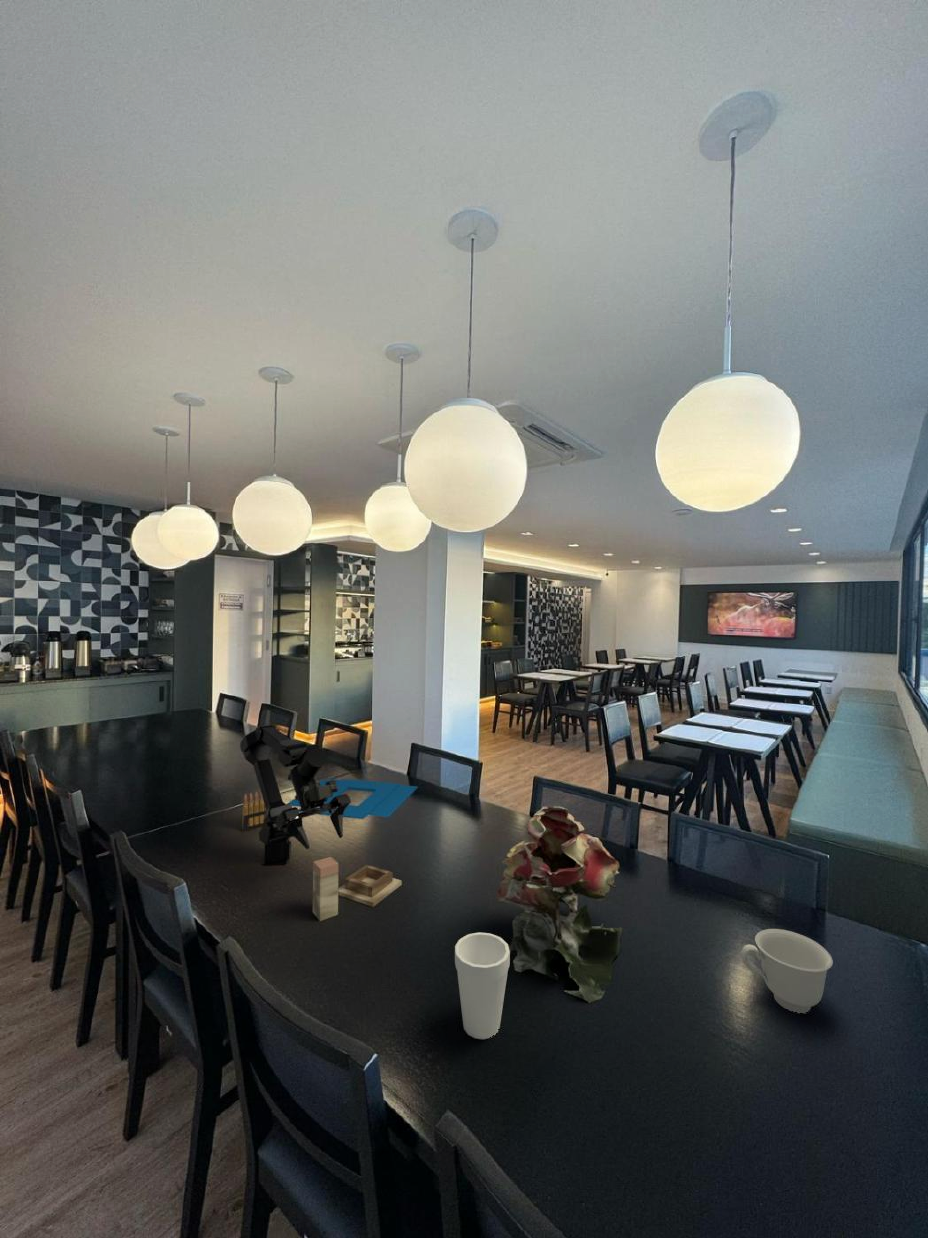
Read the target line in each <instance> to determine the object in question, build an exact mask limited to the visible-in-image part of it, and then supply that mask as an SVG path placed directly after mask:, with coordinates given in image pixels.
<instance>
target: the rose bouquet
mask: <svg viewBox="0 0 928 1238" xmlns="http://www.w3.org/2000/svg"><path fill="white" fill-rule="evenodd" d="M526 830H527V832H526V833H527V834H528V835H529V836H531V838H527V839H524V840H523V841H520V842H519V843H518V844H516V845H514V846H513V847H511V848H510V849H509V852H508V853H507V854H506V857H508V858H504V859H503V860H502V861H501V863H502V864H503V865H506V866H507V867H506V868H505V869H504V870H503V873H502V876H503V877H502V881H501V880H500V881H499V884H500V886H501V889H497V892H496V893H497V896H496V897H497V899H498V901H500V902H502V903H503V902H504V903H507V904H510V905H515V906H518V907H519V908H522V909H524V911H523V912H521V913H520V914H522V915H523V916H522V917H520V918H522V919H521V920H520V921H518V922H517V921H516V920H515V921H516V922H515V921H514V920H513V919H512V923H511V924H512V935H513V937H512V940H511V942H510V945H509V944H508V947H509V951H510V952H513V951H514V950H515V951H516V952H517V953H516V955H517V956H515V957H514V959H513V960H512V963H513V966H514V971H516V972H518V973H522V972H524V971H527V970H533V971H535V972H536V973H539V974H542V975H545V976H547V977H549V978H551V979H553V980H556V981H559V980H560V978H559V977H560V976H559V975H558V974H557V973H555V972H554V971H553V970H551V969H550V968H551V965H552V964H553V962H555V961H556V960H559V956H560V954H561V955H562V957H564V959H565V961H566V963H569V965H568V973H569V978H571V979H572V980H574V982H575V983H576V984H577V986H578V987H579V989H578V990H564V992H566V993H567V994H570V995H572V996H574V997H577V998H579V999H582V1000H584V1001H586V1002H587V1003H588V1004H592V1003H593V1002H596V1001H598V1000H601V999H602V998H603V996H604V995H605V993H606V989H604V990H602V988H601V987H600V985H607V986H606V988H608V987H609V985H610V983H611V981H612V971H613V968H614V966H613V961H614V960H615V958H617V956H619V952H620V945H621V944H620V943H621V941H620V940H621V936H622V934H623V928H622V927H602V926H603V925H604V923H602V924H601V926H599V925H598V926H597V925H596V926H594V925H592V924H591V920H592V919H591V916H590V915H589V912H588V904H585V906H582V907H581V908H580V909H579V910H578V905H579V904H578V898H579V897H578V895H581V896H584V897H587V898H588V899H591V900H594V901H598V902H601V903H602V900H604V901H608V899H606V898H608V896H607V895H605V894H608V893H609V892H610V890H611V888H614V889H617V887H616V885H613V884H614V883H615V882H616V881H615V877H616V875H617V874H620V872H619V871H618V870H619V869H620V863H619V861H618V860H616V858H614V856H612V855H611V854H610V852H609V851H608V850H607V849H606V848H605V846H603V843H602V841H601V840H600V838H599V837H594V836H592V835H590V834H587V833H583V832H584V831H585V828H584V826H583V825H582V824H581V822H580V821H576V820H575V818H574V816H573V815H572V814H570V811H569V809H567V808H565V807H562V806H553V807H550V806H542V807H541V808H540V809H539V810H536V813H534V815H533V817H531V818H530V819H529V820H528V822H527V828H526ZM609 899H614V897H609ZM560 903H563V904H565V905H566V906H567V907H568V911H569V912H568V914H567V916H564V915H561V906H560ZM515 918H517V916H516V917H515ZM563 918H564V919H563ZM513 925H517V926H513ZM518 925H520V926H518ZM599 987H600V988H599ZM591 1002H592V1003H591Z"/></svg>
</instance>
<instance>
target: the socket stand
mask: <svg viewBox="0 0 928 1238" xmlns="http://www.w3.org/2000/svg"><path fill="white" fill-rule="evenodd" d="M393 876H394V875H393V872H392V871H390V870H386V869H382V868H379V867H376V866H372V865H368V864H366V865H363V866H362V867H361V868H359V869H358V870H356V871H354V873H352V874H349V876H347V877H346V878H344V881H345V882H344V883H343V884H342V885H341V886H338V897H339V896H340V897H343V898H346V899H347V900H348V899H349V900H351V901H355V902H357V903H360V904H364V905H367V906H369V907H373V908H374V907H375V906H376V905H378V904H379V903H380V902H381V901H383V900H384V899H385V898H387V897H388V896H389V895H390V894H391V893H393V892H394V891H396V890H397V889H398V888H399V887H401V886H402V883H403V882H402V880H401V879H398V878H395V877H393Z"/></svg>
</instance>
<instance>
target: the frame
mask: <svg viewBox="0 0 928 1238" xmlns="http://www.w3.org/2000/svg"><path fill="white" fill-rule="evenodd" d="M331 780H335V782H336V784H337V788H338V791H337V792H334V793H332V794H333V797H327V798H328V800H327V801H326V802H324V804H326V803H330V801H331V800H332V799H333V798H334V797H335V796H339V795H343V794H345V792H347V791H348V790H353V791H363V792H372V793H371V794H370V795H369V796H367V797H366V798H365V799H363V801H362V802H360V804H358V805H352V804H349V805H348V807H347V808H346V809H345V810H344V813H343V818H351V819H358V820H360V819H361V820H364V819H365V818H366V817H367V816H375V817H385V818H390V816H392V815H393V814H394V813H395V811H397V809H399V807H400V806H401V805H402V804H403V803H405V801H406V800H408V798H410V796H412V795H413V793H414V792H415V791H416V790H417V789H418V787H419V786H414V785H405V784H403V785H402V784H400V783H393V782H383V781H382V782H381V781H372V780H370V781H369V780H359V779H348V778H341V779H338V778H337V779H335V778H324V779H322V780H321V781H320V782H318V783H320V784H321V786H325V785H326V782H327V781H331ZM286 804H291V806H292V807H297V808H298V807H299V808H298V810H299V811H300V810H301V807H300V804H299V801H298V800H295V798H294V799H292V800H290V801H289V802H287V803H286ZM317 815H319V816H320V815H322V816H329V817H330V816H331V815H332V814H331V813H329V811H326V812H322V813H318V814H317Z"/></svg>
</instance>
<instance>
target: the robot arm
mask: <svg viewBox="0 0 928 1238" xmlns="http://www.w3.org/2000/svg"><path fill="white" fill-rule="evenodd" d="M239 745H240V746H239V748H240V751H241V752H242V754H243V757H244V759H245V760H246V762H249V764H251V765H252V766H253V769H254V772H255V775H256V780H257V782H258V786H259V790H260V792H261V793H262V797H263V800H264V804H265V807H266V813H265V816H264V819H263V823H264V825H263V827H260V828H261V829H260V830H259V831H258V837H259V841H260V842H261V843H263V844H264V854H263V855H264V859H263V861H262V866H271V865H272V866H273V865H275V866H277V865H279V866H280V865H286V864H288V861H289V860H290V858H291V856H292V841H291V840H290V838H293V837H294V838H295V839H296V840H297V841H298V842H299V844H301V845H302V846H303V847H304V848H305V849H306V850H308V849H310V843H309V839H308V836H307V834H306V832H305V829H304V826H303V819H304V818H307V817H311V816H315V815H319V814H318V813H322V812H326V811H329V813H331V814H332V815H331V816H330V815H329V818H330V820H331V823H332V825H333V827H334V828H333V829H334V830H335V832H336V834H337V836H338V838H339V839H342V838H343V836H344V829H343V827H344V825H343V824H344V823H343V821H344V820H343V818H344V817H343V813H344V810H345V809H346V808H347V807H348V805H351V803H352V799H351V798H350V796H349V795H348V794H346V793H342V794H341V795H339V796H335V797H334V798H333V799H332V800H331V801H330V803H326V804H324V802H326V801H327V800H328V798H327V797H333V794H332V793H334V792H337V791H338V788H337V784H336V782H335V780H331V781H327V782H326V785H325V786H321V784H320V783H319V782H317V780H316V776H318V774H319V773H320V772H321V771H322V770H323V768H324V766H325V765H327V762H328V754H327V752H325V751H324V750H323V749H321V748H319V747H317V746H316V744H315V743H314V744H307V743H306V742H305V741H301V740H298V739H297V740H295V739H290V738H289V737H288V736H287V735H286V734H284V733H283V732H282V731H281V730H279V729H277V728H276V726H275V724H265V725H259V726H257V727H256V728H255V729H254V730H252V731H251V732H250V733H248V734H246V735H244V737H243V738H242V740H241V741H240V744H239ZM272 750H273V751H275V752H276V753H277V756H278V757H277V761H278V762H279V763H280V764H281V766H283V767H284V768H289V767H292V768H291V769H290V770H289V774H288V775H287V780H288V781H291V783H292V785H293V788H294V792H295V796H294V799H295V800H298V801H299V804H300V807H299V808H301V810H300V811H299V808H298V807H297V806H291V804H287V803H285V802H284V801H283V797H282V795H281V791H280V788H279V785H278V782H277V778H276V775H275V772H274V770H273V769H274V768H273V766H272V762H271V760H270V759H271V758H270V756H271V753H272ZM293 766H294V767H293Z"/></svg>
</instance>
